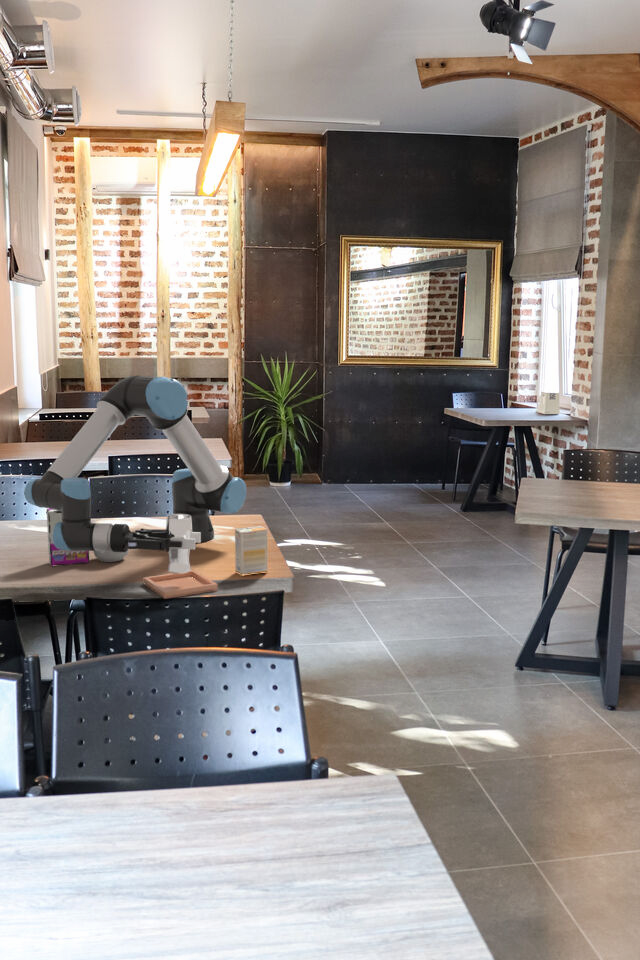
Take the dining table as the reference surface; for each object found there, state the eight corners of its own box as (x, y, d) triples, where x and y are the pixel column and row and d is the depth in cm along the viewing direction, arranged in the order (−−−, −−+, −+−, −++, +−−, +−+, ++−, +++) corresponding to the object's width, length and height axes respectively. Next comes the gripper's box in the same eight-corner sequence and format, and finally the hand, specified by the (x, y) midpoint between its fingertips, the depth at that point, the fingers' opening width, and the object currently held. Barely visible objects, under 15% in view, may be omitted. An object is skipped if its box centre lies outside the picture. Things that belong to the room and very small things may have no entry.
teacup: (120, 565, 263) (119, 539, 262) (85, 563, 265) (84, 536, 264) (139, 553, 276) (138, 528, 275) (106, 551, 278) (105, 526, 277)
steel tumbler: (170, 575, 237) (170, 519, 235) (162, 569, 243) (162, 514, 241) (195, 572, 240) (195, 517, 238) (187, 566, 246) (187, 512, 244)
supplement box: (261, 569, 261) (261, 525, 259) (267, 573, 257) (268, 529, 255) (234, 572, 258) (234, 528, 255) (240, 577, 253) (240, 531, 251)
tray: (194, 576, 253) (194, 570, 253) (217, 590, 240) (217, 584, 240) (143, 583, 245) (143, 577, 245) (164, 598, 233) (164, 592, 232)
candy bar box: (86, 559, 269) (85, 505, 266) (89, 563, 265) (88, 508, 262) (48, 562, 265) (46, 507, 262) (50, 566, 260) (48, 511, 257)
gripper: (122, 542, 252) (204, 545, 250) (102, 560, 232) (190, 564, 231) (122, 516, 250) (204, 519, 249) (101, 532, 231) (190, 535, 230)
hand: (197, 540), depth 240 cm, fingers closed on steel tumbler, 7 cm apart
